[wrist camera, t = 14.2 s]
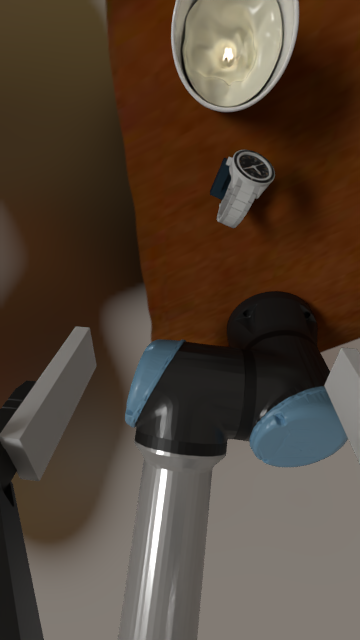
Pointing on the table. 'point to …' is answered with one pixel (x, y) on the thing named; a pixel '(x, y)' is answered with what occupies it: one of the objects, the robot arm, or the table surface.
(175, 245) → the table surface
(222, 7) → the candle holder
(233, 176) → the watch
